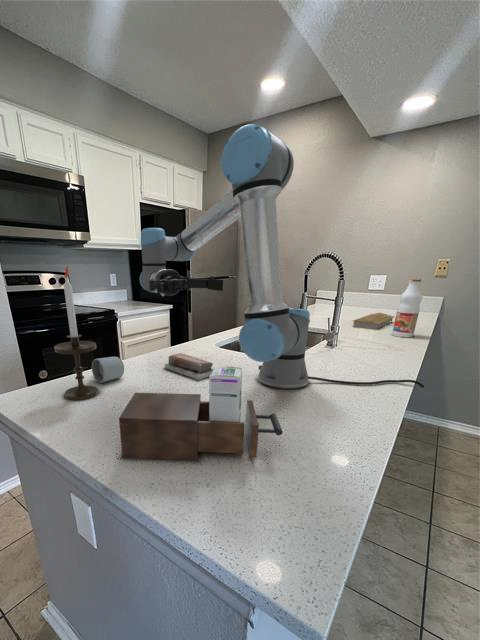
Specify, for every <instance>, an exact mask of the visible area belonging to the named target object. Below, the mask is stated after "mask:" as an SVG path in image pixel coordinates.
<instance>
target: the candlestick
mask: <svg viewBox="0 0 480 640" xmlns="http://www.w3.org/2000/svg"><path fill="white" fill-rule="evenodd" d="M68 268H69V266H68V265H66V267H65V269H64V270H65V272H64V277H65V282H64V283H63V291H64V298H65V305H66V312H67V319H68V327H69V335H65V336H66V338H70V341H65V342H61V343H57V344H55V345H54V346H53V347H54V348H53V349H54V351H55V353H57V354H60V355H71V356H74V362H75V367H74V368H73V372H74V373H75V374H76V376H75V377H74V379H75V380H77V386H74V387H70V388H68V389H67V390H66V391H64V395H65V399H67V400H71V401H85V400H88V399H92V398H94V397H96V396H97V395H98V394H99V389H98V387H97V386H94V385H87V384H86V385H85V384H84V380H83V379H85V375H83V373H84V371H85V368H84V366H82V365H81V356H80V355H82V354H85V353H89V352H93V351H95V350H96V349H97V343H96V342H95V341H90V340H80V339H79V338H80V337H82V336H83V334H78V333H79V332H78V326H77V318H76V317H77V316H76V309H75V303H74V302H75V301H74V295H73V286H72V283H70V281H69V278H68V276H69V269H68Z"/></svg>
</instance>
